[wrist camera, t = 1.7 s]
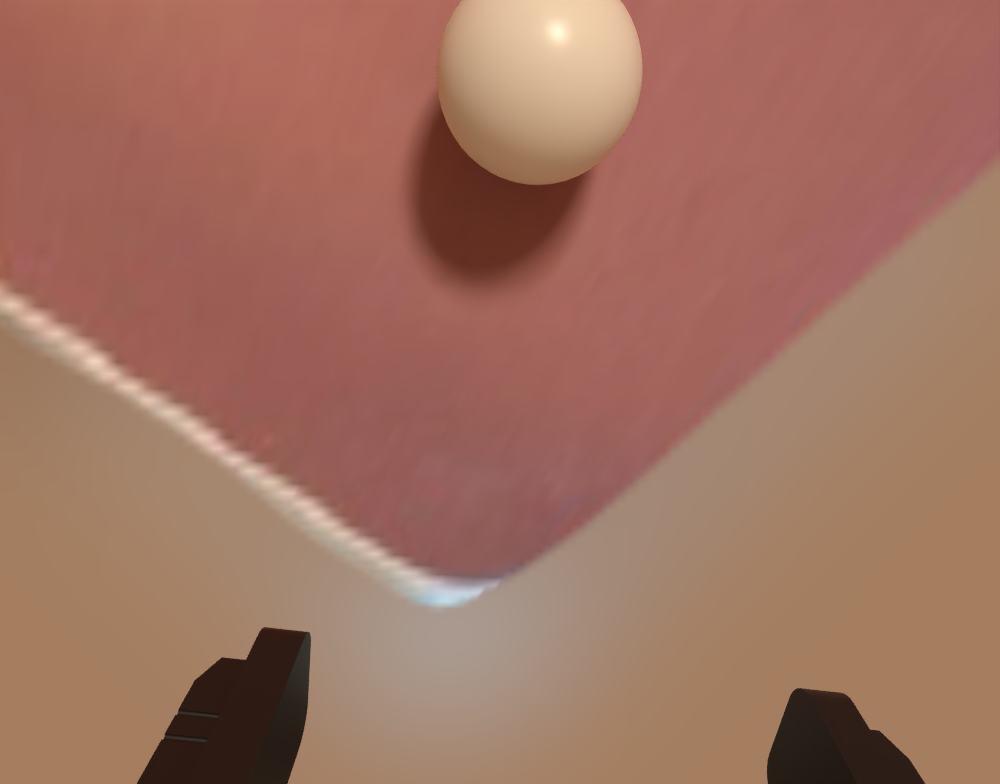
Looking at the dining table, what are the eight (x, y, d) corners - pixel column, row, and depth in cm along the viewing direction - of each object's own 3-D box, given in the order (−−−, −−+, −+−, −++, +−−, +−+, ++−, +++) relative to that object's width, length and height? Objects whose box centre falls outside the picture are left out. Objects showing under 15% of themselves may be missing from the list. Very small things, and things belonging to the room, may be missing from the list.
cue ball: (504, 210, 25) (506, 236, 19) (408, 51, 23) (380, 28, 17) (654, 115, 24) (703, 113, 18) (567, -60, 22) (591, -123, 16)
